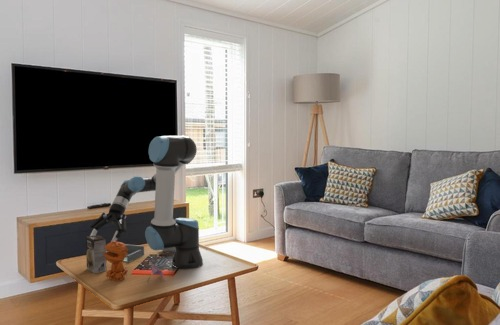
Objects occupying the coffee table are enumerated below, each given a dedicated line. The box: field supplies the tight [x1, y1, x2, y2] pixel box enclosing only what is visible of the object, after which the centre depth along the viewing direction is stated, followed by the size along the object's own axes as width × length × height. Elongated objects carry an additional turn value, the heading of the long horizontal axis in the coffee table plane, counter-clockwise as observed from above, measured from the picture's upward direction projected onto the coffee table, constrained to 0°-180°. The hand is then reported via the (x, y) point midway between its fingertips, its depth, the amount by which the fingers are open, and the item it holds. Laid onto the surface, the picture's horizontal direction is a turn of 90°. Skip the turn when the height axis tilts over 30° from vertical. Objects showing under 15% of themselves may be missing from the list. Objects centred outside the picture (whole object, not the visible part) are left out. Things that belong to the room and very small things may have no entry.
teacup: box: [162, 247, 175, 254], centre depth 244 cm, size 14×11×8 cm
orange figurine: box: [103, 239, 129, 282], centre depth 198 cm, size 11×11×18 cm
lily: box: [146, 257, 166, 283], centre depth 196 cm, size 12×12×10 cm
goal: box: [106, 243, 145, 263], centre depth 232 cm, size 16×14×5 cm
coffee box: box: [85, 234, 107, 274], centre depth 211 cm, size 9×6×16 cm
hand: (101, 242), depth 216 cm, fingers open, 13 cm apart
